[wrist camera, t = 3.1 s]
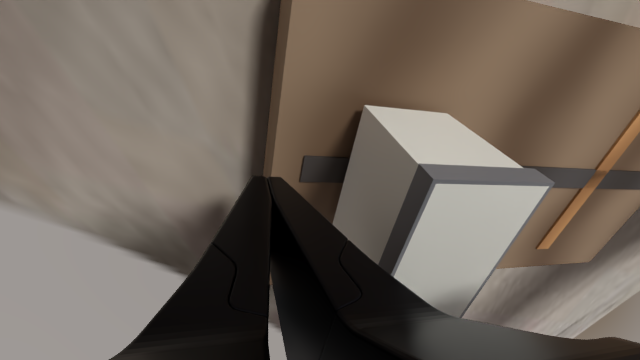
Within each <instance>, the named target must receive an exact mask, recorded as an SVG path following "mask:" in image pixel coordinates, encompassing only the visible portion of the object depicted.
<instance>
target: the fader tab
mask: <svg viewBox="0 0 640 360" xmlns="http://www.w3.org/2000/svg"><path fill="white" fill-rule="evenodd" d="M554 184H555V182H553V181H552V180H550V179H549V178H547V177H546V176H545V175H543V174H542V173H540V172H539V171H537V170H536V169H531V168H523V167H522V166H520V165H519V164H517V163H516V162H515V161H513V160H512V159H510V158H509V157H508V156H506V155H505V154H503V153H502V152H501V151H499V150H498V149H496V148H495V147H494V146H492V145H491V144H489V143H488V142H487V141H485V140H484V139H482V138H481V137H480V136H478V135H477V134H475V133H474V132H473V131H471V130H470V129H468V128H467V127H466V126H464V125H463V124H461V123H460V122H459V121H457V120H456V119H455V118H453V117H452V116H450V115H449V114H448V113H439V112H429V111H419V110H409V109H399V108H389V107H379V106H369V105H364V108H363V111H362V115H361V119H360V123H359V126H358V130H357V134H356V138H355V141H354V145H353V149H352V153H351V156H350V160H349V164H348V168H347V171H346V175H345V179H344V183H343V186H342V190H341V194H340V198H339V201H338V205H337V209H336V213H335V216H334V220H333V225H334V226H335V227H336V228H337V229H338V230H339V231H340V232H341V233H342V234H343V235H345V236H346V237H347V238H348V240H350V241H351V242H352V243H353V244H354V245H355V246H357V247H358V248H359V249H360V250H361V251H362V252H363V253H364V254H366V255H367V256H368V257H369V258H370V259H371V260H373V261H374V262H375V263H376V264H378V265H379V266H380V267H381V268H383V269H384V270H385V271H386V272H388V273H389V274H390V275H392V276H393V277H394V278H395V279H397V280H398V281H399V282H401V283H402V284H403V285H405V286H406V287H407V288H409V289H410V290H411V291H413V292H414V293H415V294H417V295H418V296H419V297H420V298H422V299H423V300H424V301H426V302H427V303H429V304H430V305H431V306H433V307H434V308H436V309H438V310H440V311H442V312H444V313H446V314H448V315H451V316H454V317H458V318H462V316H463V315H464V313H465V312H466V311H467V309H468V308H469V306H470V305H471V303H472V302H473V300H474V299H475V298H476V296H477V295H478V293H479V292H480V290H481V289H482V287H483V286H484V285H485V283H486V282H487V280H488V279H489V277H490V276H491V275H492V273H493V272H494V270H495V269H496V267H497V266H498V264H499V263H500V262H501V260H502V259H503V257H504V256H505V254H506V253H507V251H508V250H509V249H510V247H511V246H512V244H513V243H514V241H515V240H516V239H517V237H518V236H519V234H520V233H521V231H522V230H523V228H524V227H525V226H526V224H527V223H528V221H529V220H530V218H531V217H532V215H533V214H534V213H535V211H536V210H537V208H538V207H539V205H540V204H541V202H542V201H543V200H544V198H545V197H546V195H547V194H548V192H549V191H550V190H551V188H552V187H553V185H554Z"/></svg>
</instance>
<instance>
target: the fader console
mask: <svg viewBox="0 0 640 360" xmlns="http://www.w3.org/2000/svg"><path fill="white" fill-rule="evenodd" d="M364 105H369V106H379V107H389V108H399V109H409V110H419V111H429V112H439V113H448V114H449V115H450V116H452V117H453V118H455V119H456V120H457V121H459V122H460V123H461V124H463V125H464V126H466V127H467V128H468V129H470V130H471V131H473V132H474V133H475V134H477V135H478V136H480V137H481V138H482V139H484V140H485V141H487V142H488V143H489V144H491V145H492V146H494V147H495V148H496V149H498V150H499V151H501V152H502V153H503V154H505V155H506V156H508V157H509V158H510V159H512V160H513V161H515V162H516V163H517V164H519V165H520V166H522V167H523V168H531V169H536V170H537V171H539V172H540V173H542V174H543V175H545V176H546V177H547V178H549V179H550V180H552V181H553V182H555V184H554V185H553V187H552V188H551V190H550V191H549V192H548V194H547V195H546V197H545V198H544V200H543V201H542V202H541V204H540V205H539V207H538V208H537V210H536V211H535V213H534V214H533V215H532V217H531V218H530V220H529V221H528V223H527V224H526V226H525V227H524V228H523V230H522V231H521V233H520V234H519V236H518V237H517V239H516V240H515V241H514V243H513V244H512V246H511V247H510V249H509V250H508V251H507V253H506V254H505V256H504V257H503V259H502V260H501V262H500V263H499V264H498V266H497V267H496V269H500V268H514V267H528V266H542V265H556V264H570V263H584V262H590V261H591V260H592V259H593V258H594V256H595V255H596V254H597V253H598V252H599V251H600V250H601V249H602V248H603V247H604V245H605V244H606V243H607V242H608V241H609V240H610V239H611V238H612V237H613V235H614V234H615V233H616V232H617V231H618V230H619V229H620V228H621V227H622V226H623V224H624V223H625V222H626V221H627V220H628V219H629V218H630V217H631V216H632V215H633V213H634V212H635V211H636V210H637V209H638V208H639V207H640V28H637V27H633V26H629V25H625V24H621V23H617V22H613V21H609V20H605V19H600V18H596V17H592V16H588V15H584V14H580V13H576V12H572V11H568V10H564V9H559V8H555V7H551V6H547V5H543V4H539V3H535V2H531V1H527V0H281V4H280V14H279V24H278V33H277V43H276V53H275V63H274V72H273V82H272V92H271V101H270V111H269V121H268V131H267V140H266V150H265V160H264V169H263V176H265V177H266V178H267V177H269V176H271V177H282V178H283V179H284V180H285V181H286V182H287V183H288V184H289V185H290V186H292V187H293V188H294V189H295V190H296V191H297V192H298V193H299V194H300V195H301V196H302V197H303V198H305V199H306V200H307V201H308V202H309V203H310V204H311V205H312V206H313V207H314V208H315V209H316V210H317V211H319V212H320V213H321V214H322V215H323V216H324V217H325V218H326V219H327V220H328V221H329V222H330V223H332V224H333V220H334V216H335V213H336V209H337V205H338V201H339V198H340V194H341V190H342V186H343V183H344V179H345V175H346V171H347V168H348V164H349V160H350V156H351V153H352V149H353V145H354V141H355V138H356V134H357V130H358V126H359V123H360V119H361V115H362V111H363V108H364ZM270 285H273V284H272V279H271V274H270Z"/></svg>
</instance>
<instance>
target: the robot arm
mask: <svg viewBox="0 0 640 360" xmlns="http://www.w3.org/2000/svg"><path fill="white" fill-rule="evenodd" d="M270 274H271V279H272V284H273V289H274V294H275V300H276V305H277V310H278V315H279V320H280V326H281V331H282V336H283V341H284V346H285V352H286V357H287V360H640V343H637V342H632V341H628V340H625V339H621V338H616V337H605V338H599V339H590V340H581V339H570V338H561V337H555V336H549V335H543V334H538V333H533V332H528V331H523V330H518V329H513V328H508V327H503V326H498V325H493V324H488V323H482V322H477V321H472V320H467V319H462V318H458V317H454V316H451V315H448V314H446V313H444V312H442V311H440V310H438V309H436V308H434V307H433V306H431V305H430V304H429V303H427V302H426V301H424V300H423V299H422V298H420V297H419V296H418V295H417V294H415V293H414V292H413V291H411V290H410V289H409V288H407V287H406V286H405V285H403V284H402V283H401V282H399V281H398V280H397V279H395V278H394V277H393V276H392V275H390V274H389V273H388V272H386V271H385V270H384V269H383V268H381V267H380V266H379V265H378V264H376V263H375V262H374V261H373V260H371V259H370V258H369V257H368V256H367V255H366V254H364V253H363V252H362V251H361V250H360V249H359V248H358V247H357V246H355V245H354V244H353V243H352V242H351V241H350V240H348V238H347V237H346V236H345V235H343V234H342V233H341V232H340V231H339V230H338V229H337V228H336V227H335V226H334V225H333V224H332V223H330V222H329V221H328V220H327V219H326V218H325V217H324V216H323V215H322V214H321V213H320V212H319V211H317V210H316V209H315V208H314V207H313V206H312V205H311V204H310V203H309V202H308V201H307V200H306V199H305V198H303V197H302V196H301V195H300V194H299V193H298V192H297V191H296V190H295V189H294V188H293V187H292V186H290V185H289V184H288V183H287V182H286V181H285V180H284V179H283V178H282V177H271V176H269V177H267V178H266V177H265V176H252V177H251V179H250V180H249V182H248V183H247V185H246V187H245V188H244V190H243V191H242V193H241V195H240V196H239V198H238V200H237V201H236V203H235V204H234V206H233V208H232V209H231V211H230V213H229V214H228V216H227V217H226V219H225V221H224V222H223V224H222V226H221V227H220V229H219V230H218V232H217V234H216V235H215V237H214V239H213V240H212V242H211V244H210V245H209V246H208V248H207V250H206V251H205V253H204V254H203V256H202V257H201V259H200V260H199V262H198V263H197V265H196V266H195V268H194V269H193V271H192V272H191V273H190V274H189V276H188V277H187V278H186V279H185V281H184V282H183V283H182V284H181V286H180V287H179V288H178V289H177V290H176V292H175V293H174V294H173V295H172V297H171V298H170V299H169V300H168V301H167V303H166V304H165V305H164V306H163V307H162V308H161V310H160V311H159V312H158V313H157V314H156V315H155V316H154V318H153V319H152V320H151V321H150V322H149V324H148V325H147V326H146V327H145V328H144V330H143V331H142V332H141V333H140V334H139V335H138V336H137V337H136V338H135V339H134V340H133V341H132V342H131V344H129V345H128V346H127V347H126V348H125V349H124V350H122V351H121V352H120V353H118V354H117V355H116V356H114V357H113V358H111V359H109V360H270V356H269V347H268V317H269V288H270Z"/></svg>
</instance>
